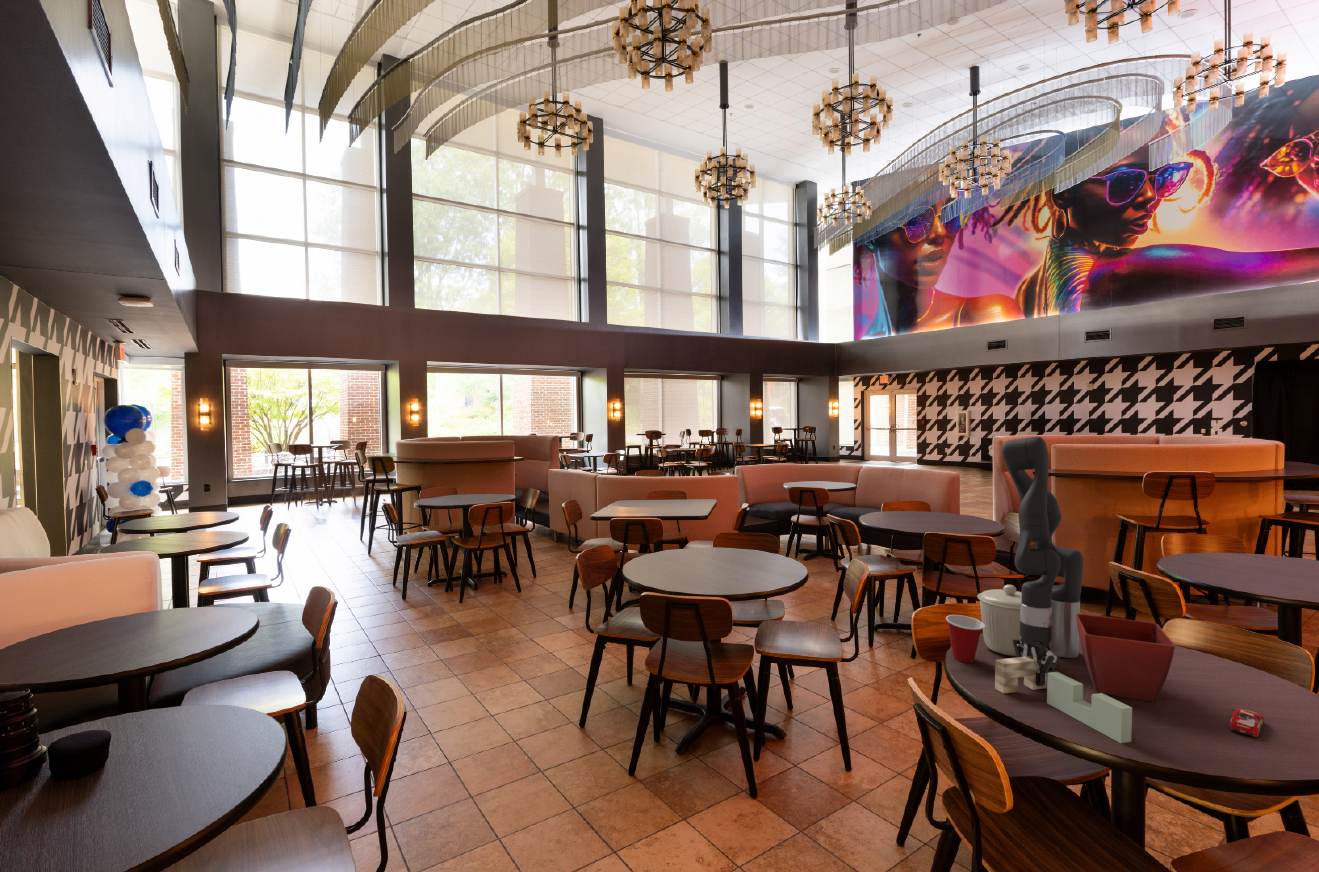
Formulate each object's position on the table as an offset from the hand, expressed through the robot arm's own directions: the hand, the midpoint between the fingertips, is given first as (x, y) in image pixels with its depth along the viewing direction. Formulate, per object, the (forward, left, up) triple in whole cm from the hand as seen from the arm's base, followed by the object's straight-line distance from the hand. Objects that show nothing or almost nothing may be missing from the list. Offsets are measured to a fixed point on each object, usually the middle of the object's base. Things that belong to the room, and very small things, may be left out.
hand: (1034, 682), depth 169 cm
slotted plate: (+4, -2, -1) cm, 5 cm away
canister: (-21, -18, -2) cm, 27 cm away
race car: (-20, +39, -2) cm, 44 cm away
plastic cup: (-3, -22, -1) cm, 22 cm away
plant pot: (-19, +13, -2) cm, 23 cm away
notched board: (+9, +16, -1) cm, 19 cm away
